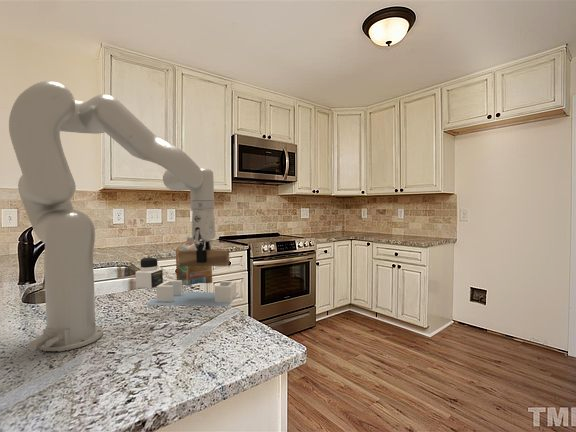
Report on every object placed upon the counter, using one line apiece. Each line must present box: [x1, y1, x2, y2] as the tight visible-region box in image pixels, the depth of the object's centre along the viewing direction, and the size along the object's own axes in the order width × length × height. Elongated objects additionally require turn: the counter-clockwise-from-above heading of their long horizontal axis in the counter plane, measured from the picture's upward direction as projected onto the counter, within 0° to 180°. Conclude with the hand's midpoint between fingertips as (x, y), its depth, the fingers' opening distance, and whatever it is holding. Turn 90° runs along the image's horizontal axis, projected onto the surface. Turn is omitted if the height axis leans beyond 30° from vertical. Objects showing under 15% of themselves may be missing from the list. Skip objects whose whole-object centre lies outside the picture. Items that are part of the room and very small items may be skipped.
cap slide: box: [155, 279, 183, 302], centre depth 102 cm, size 8×5×5 cm, turn 176°
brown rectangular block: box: [179, 248, 231, 267], centre depth 100 cm, size 4×16×5 cm, turn 86°
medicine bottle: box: [135, 256, 164, 289], centre depth 119 cm, size 7×7×12 cm
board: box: [144, 291, 239, 307], centre depth 101 cm, size 14×27×1 cm, turn 86°
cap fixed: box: [214, 280, 237, 303], centre depth 100 cm, size 7×5×5 cm
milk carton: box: [175, 236, 213, 286], centre depth 125 cm, size 11×10×19 cm
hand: (204, 260), depth 100 cm, fingers closed on brown rectangular block, 3 cm apart
